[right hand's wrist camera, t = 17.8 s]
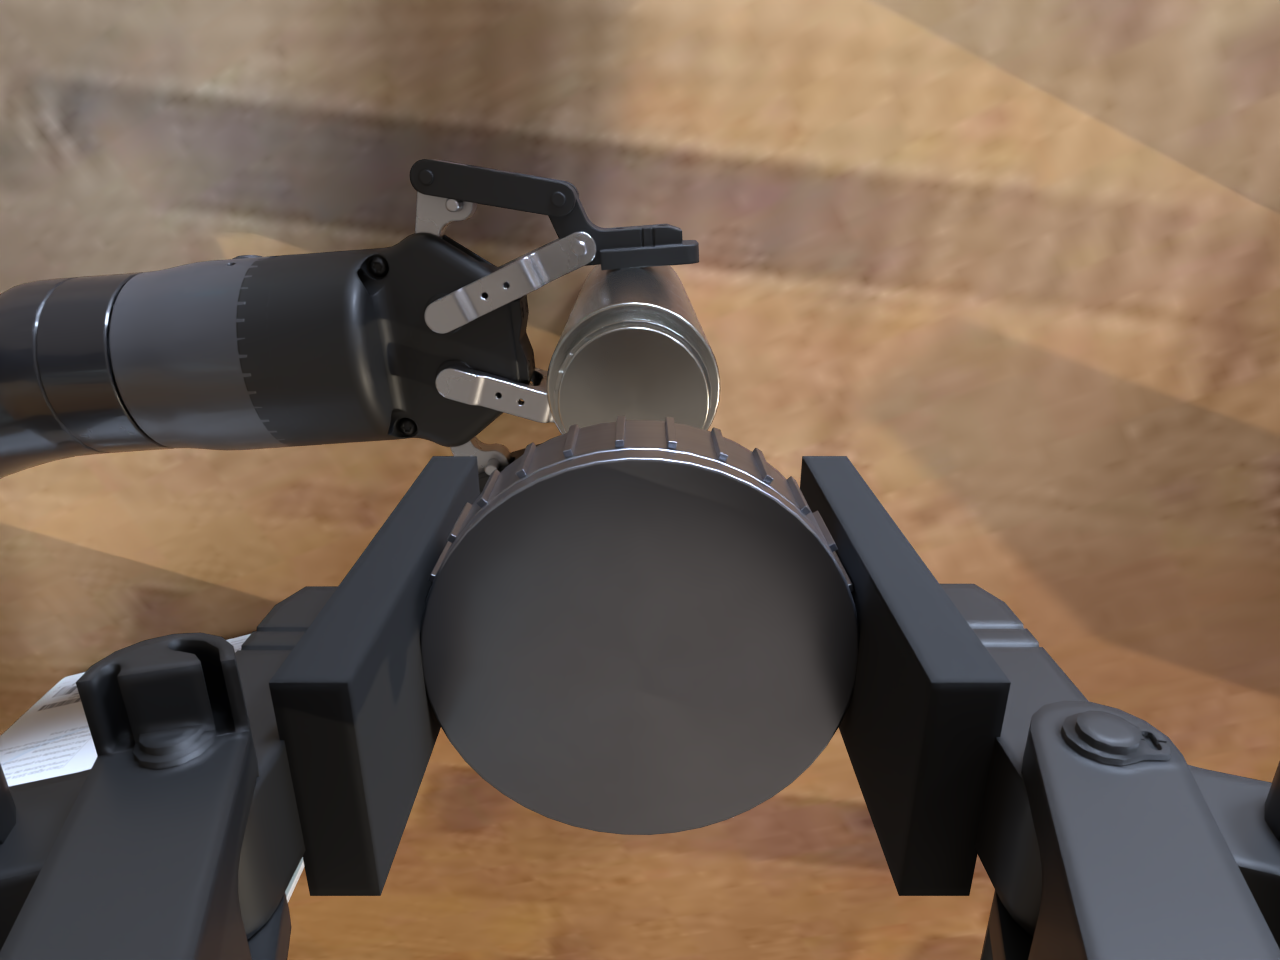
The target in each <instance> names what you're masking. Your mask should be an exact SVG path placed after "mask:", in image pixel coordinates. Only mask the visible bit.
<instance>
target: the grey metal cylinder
mask: <svg viewBox="0 0 1280 960" xmlns="http://www.w3.org/2000/svg"><path fill="white" fill-rule="evenodd" d="M719 397H720V376H719V370H718V366H717V362H716V359H715V356H714V354H713V352H712V350H711V347H710V345H709V343H708V340H707V338H706V336H705V334H704V331H703V329H702V327H701V325H700V322H699V320H698V318H697V316H696V313H695V311H694V309H693V307H692V304H691V302H690V300H689V298H688V295H687V293H686V291H685V289H684V286H683V284H682V282H681V280H680V278H679V276H678V275H677V273H676V272H675V271H674V269H673V268H672V267H671V266H670V265H667V266H654V267H640V268H624V269H613V270H601V264H598V265H596V266H595V267H594V268H593V270H592V271H591V272H590V273H589V275H588V277H587V278H586V280H585V282H584V284H583V287H582V289H581V291H580V294H579V296H578V298H577V300H576V303H575V305H574V307H573V310H572V312H571V314H570V317H569V319H568V321H567V323H566V326H565V328H564V330H563V333H562V335H561V337H560V339H559V342H558V344H557V346H556V349H555V351H554V353H553V355H552V358H551V361H550V365H549V368H548V374H547V399H548V404H549V408H550V412H551V414H552V417H553V420H554V422H555V424H556V426H557V427H558V429H559V431H560V432H561V434H562V435H563V434H565V433H568V431H569V427H570V426H572V425H575V424H577V425H578V428H579V429H580V428H584V427H588V426H592V425H596V424H601V423H608V422H617V416H625V420H654V421H664V422H665V419H666V417H673V418H674V423H678V424H685V425H688V426H692V427H696V428H699V429H703V430H706V431H708V429H709V427H710V425H711V423H712V422H713V419H714V416H715V414H716V411H717V407H718V403H719Z"/></svg>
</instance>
